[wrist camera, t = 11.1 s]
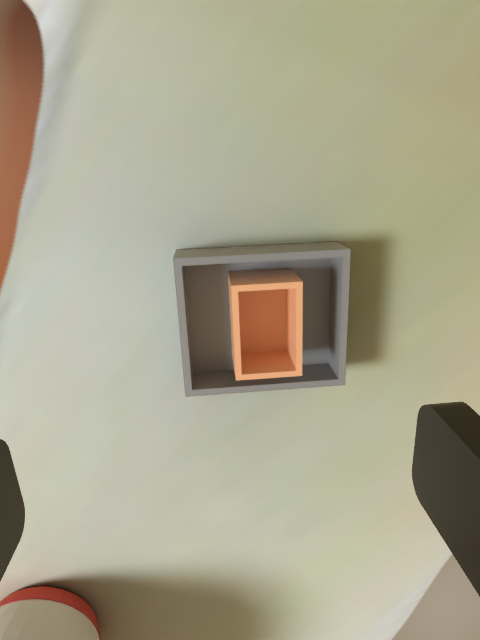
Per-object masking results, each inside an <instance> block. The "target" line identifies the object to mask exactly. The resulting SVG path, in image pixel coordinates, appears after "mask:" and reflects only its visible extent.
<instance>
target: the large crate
mask: <svg viewBox="0 0 480 640" xmlns="http://www.w3.org/2000/svg"><path fill="white" fill-rule="evenodd" d="M350 257H351V249H350V248H348V247H346V246H344V245H342V244H340V243H339V242H337V241H334V242H315V243H296V244H277V245H258V246H239V247H221V248H202V249H183V250H176V252H175V255H174V258H173V263H174V274H175V285H176V296H177V307H178V318H179V329H180V341H181V352H182V363H183V374H184V385H185V396H186V397H189V396H202V395H216V394H230V393H243V392H257V391H270V390H284V389H298V388H311V387H325V386H339V385H345V378H346V353H347V329H348V305H349V281H350ZM280 268H291V269H292V270H293V271H294V272H295V273H296V274H297V276H298V277H299V278H300V279H301V280H302V281H303V334H302V376H293V377H279V378H266V379H252V380H238V381H236V378H235V372H234V365H233V359H232V344H231V324H230V305H229V285H228V271H245V270H262V269H280Z"/></svg>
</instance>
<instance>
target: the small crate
mask: <svg viewBox="0 0 480 640" xmlns="http://www.w3.org/2000/svg"><path fill="white" fill-rule="evenodd" d="M228 285H229V305H230V324H231V344H232V359H233V365H234V372H235V378H236V381H238V380H252V379H266V378H279V377H293V376H302V334H303V281H302V280H301V279H300V278H299V277H298V276H297V274H296V273H295V272H294V271H293V270H292V269H291V268H280V269H262V270H245V271H228Z"/></svg>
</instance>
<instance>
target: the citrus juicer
mask: <svg viewBox="0 0 480 640" xmlns="http://www.w3.org/2000/svg"><path fill="white" fill-rule="evenodd" d="M0 640H100V633H99V627H98V622H97V618H96V616H95V613H94V611H93V610H92V608H91V607H90V605H89V604H88V603H87V602H85V601H84V600H83V599H82V598H80V597H79V596H77V595H75V594H74V593H71V592H69V591H66V590H63V589H59V588H54V587H47V586H42V587H31V588H26V589H22V590H19V591H17V592H14V593H12V594H10V595H9V596H7V597H5V598H4V599H3V600H2V601H1V602H0Z"/></svg>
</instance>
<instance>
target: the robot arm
mask: <svg viewBox="0 0 480 640" xmlns="http://www.w3.org/2000/svg"><path fill="white" fill-rule="evenodd" d="M412 478H413V484H414V489H415V492H416V495H417V497H418V499H419V501H420V503H421V505H422V506H423V508H424V510H425V511H426V513H427V514H428V516H429V517H430V519H431V521H432V522H433V524H434V525H435V527H436V528H437V530H438V532H439V533H440V535H441V536H442V538H443V539H444V541H445V543H446V544H447V546H448V547H449V549H450V550H451V552H452V554H453V555H454V557H455V558H456V560H457V561H458V563H459V564H460V566H461V568H462V569H463V571H464V572H465V574H466V576H467V577H468V579H469V580H470V582H471V583H472V585H473V587H474V588H475V590H476V591H477V593H478V594H479V596H480V416H479V415H478V414H477V413H476V412H475V411H474V410H473V409H472V408H471V407H470V406H468V405H467V404H466V403H464V402H452V403H440V404H429V405H423V406H422V407H421V408H420V410H419V413H418V419H417V428H416V437H415V446H414V456H413V465H412ZM24 521H25V508H24V502H23V499H22V495H21V491H20V487H19V484H18V480H17V476H16V472H15V469H14V465H13V461H12V458H11V454H10V450H9V447H8V445H7V444H6V442H5V441H3V440H1V439H0V581H1V579H2V577H3V575H4V573H5V571H6V568H7V566H8V564H9V562H10V560H11V558H12V556H13V554H14V552H15V550H16V548H17V545H18V543H19V541H20V539H21V536H22V532H23V528H24Z"/></svg>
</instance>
